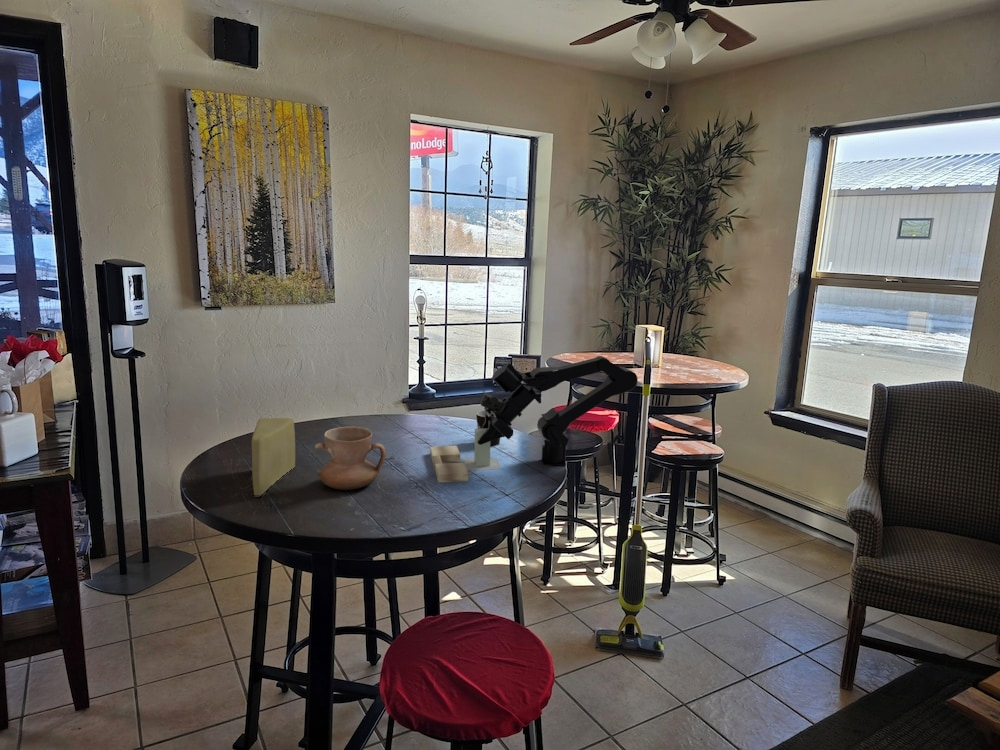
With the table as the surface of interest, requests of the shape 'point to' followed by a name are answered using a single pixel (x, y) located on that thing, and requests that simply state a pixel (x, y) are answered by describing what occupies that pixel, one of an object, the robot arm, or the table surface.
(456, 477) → the block
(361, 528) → the table surface
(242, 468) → the table surface
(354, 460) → the ceramic jug
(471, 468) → the mat
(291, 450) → the cheese
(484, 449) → the sage block
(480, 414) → the coffee mug
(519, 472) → the table surface
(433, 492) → the table surface
